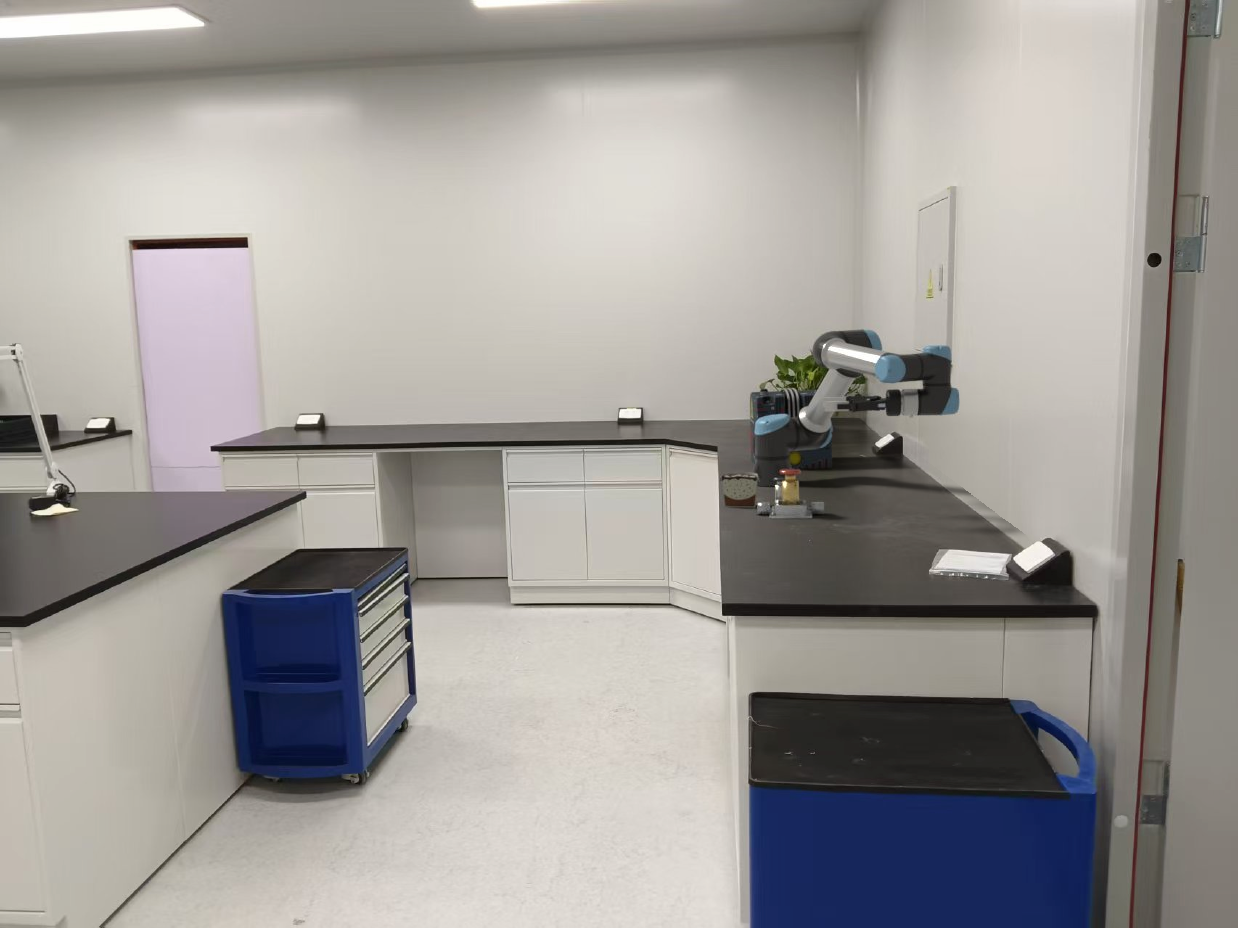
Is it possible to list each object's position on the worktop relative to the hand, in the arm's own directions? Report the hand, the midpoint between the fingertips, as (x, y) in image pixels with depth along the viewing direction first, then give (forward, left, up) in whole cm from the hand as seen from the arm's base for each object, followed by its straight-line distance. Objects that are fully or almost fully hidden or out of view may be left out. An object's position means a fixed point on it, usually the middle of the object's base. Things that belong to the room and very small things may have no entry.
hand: (823, 404), depth 278 cm
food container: (-14, -25, -32) cm, 43 cm away
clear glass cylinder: (-13, -13, -32) cm, 37 cm away
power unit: (-96, -10, -32) cm, 101 cm away
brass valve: (0, -10, -31) cm, 33 cm away
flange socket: (0, -10, -32) cm, 33 cm away
